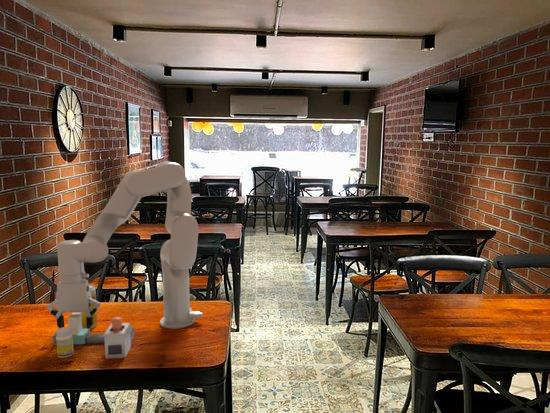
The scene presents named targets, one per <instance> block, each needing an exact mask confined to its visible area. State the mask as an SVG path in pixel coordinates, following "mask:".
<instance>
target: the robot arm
mask: <svg viewBox="0 0 550 413" xmlns="http://www.w3.org/2000/svg"><path fill="white" fill-rule="evenodd" d="M163 192H166V194H167V198H166V201H167V204H166V215H165V222H164V224H165V226H164V227H165V230H166V231H167V232H168V234H170V239H168V240H166V241H165V242H164V243H163V244H162V246H161V248H160V251H159V252H160V254H159V256H160V263H161V273H162V294H163V295H162V296H163V298H162V299H163V317H161V319H160V321H159V324H160V326H161V327H163V328H164V329H168V330H169V329H171V330H178V329H184V328H187V327H190V326H191V325H193V324H194V323H195V320H196V319H202V318H203V312H200V311H198V310H196V311H194V310H192V307H191V305H190V304H191V303H190V301H191V300H190V299H191V298H190V272H189V269H191V268H192V267H193V266H194V264H195V262H196V258H197V252H198V250H197V249H198V242H199V241H198V240H199V224H198V221H197V219H196V218H195V216H193V215H192V214H191V213H192V189H191V185H190V183H189V180H188V179H187V177H186V171H185V168H184V167H183V166H182V165H181V164H180V163H177V162H173V161H169V160H168V161H160V162H159V163H158V164H157V165H156V166H155V167H151V168H148V169H144V170H141V171H140V170H129V171H128V172H127V173H126V174H124V176H123V178H122V179H121V180H120V182H119V184H118V185H117V187H116V189H115V190H114V192H113V194H112V195H111V197H110V198H109V200H108V202H107V203H106V205H105V207H104V208H103V209H102V210H101V212H100V214H99V215H98V216H97V218H96V219H95V220H94V222H93V224H92V225H91V226H90V228H89V230H88V232H87V233H86V234H85V236H84V238H83V240H82V242H81V240H78V239H69V240H63V241H60V242H59V243H58V244H57V248H56V249H57V250H56V251H57V261H58V262H57V263H58V264H57V265H58V276H59V277H58V278H59V281H58V282H57V286H56V293H55V294H56V296H55V297H56V298H55V300H54V301H52V302H50V303H49V304H47V306H46V309H47V310H48V311H49V312H50V314H51V315H52V316H53V317H54V318H55V319H56V326H57V328H58V329H59V328H62V327H65V318H64V317H65V316H64V315H63V314H64V313H79V312H84V313H85V314H86V315H87V318H86V324H87V329H89V328H90V327H91V326H92V325H93V314H94V313H95V312H96V311H97V312H98V311H99V310H98V309H99V308H100V306H101V304H102V303H101V302H99V301H98V300H97V299H96V300H94V299H92V298H91V293H90V288H89V285H90V284H89V280H88V278H89V277H90V274H89V273H86V271H85V267H84V265H85V263H99V262H102V261H104V260H105V259H106V258H107V257H108V256H109V247H108V242H109V240H110V239H111V236H112V235H113V233H114V232H115V231H116V230H117V228H118V227H120V226H121V225H123V224H125V222H127V221H128V220H129V219H130V217H131V215H132V214H133V212H135V209H136V207H137V205H138V204H139V202H140V201H141V200H142V198H144V197H147V196H153V195H155V194H159V193H163ZM92 304H93V305H94V306H95V307H94V309H93V310H92V309H91V308H90V306H91V305H92ZM55 305H56V307H55ZM89 330H90V329H89Z"/></svg>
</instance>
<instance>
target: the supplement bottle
mask: <svg viewBox="0 0 550 413" xmlns="http://www.w3.org/2000/svg"><path fill="white" fill-rule="evenodd" d="M56 332H57V336H56V346H55V347H56V355H57V357H58V358H59V359H60V358H62V359H63V358H68V357H71V356H73V354H74V353H75V352H74V344H73V337H72V334H71V329H70V327H69V326H64V327H62V328H59V327H58V329H57V330H56Z"/></svg>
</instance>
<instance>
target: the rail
mask: <svg viewBox="0 0 550 413" xmlns="http://www.w3.org/2000/svg"><path fill="white" fill-rule="evenodd" d="M104 334H105V332H103V333H89V334H87V336H86V337H85V344H100V343H101V344H105V341H104ZM130 334H131V343H132V342H133V340H134V338H135V326H133V325H131V326H130ZM56 336H57V331H56V332H55V333H54V334H53V335H52V343H53V347H57V346H56ZM85 344H84V345H85Z"/></svg>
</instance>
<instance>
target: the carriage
mask: <svg viewBox="0 0 550 413" xmlns="http://www.w3.org/2000/svg"><path fill="white" fill-rule="evenodd" d="M67 323H68V326H67V327H70V329H71V334H72V337H73V345H85V337H86V336H87V334H90V329H87V328H84V329H82V316H81V313H79V312H71V314H70V315H69V316H68V318H67Z"/></svg>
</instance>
